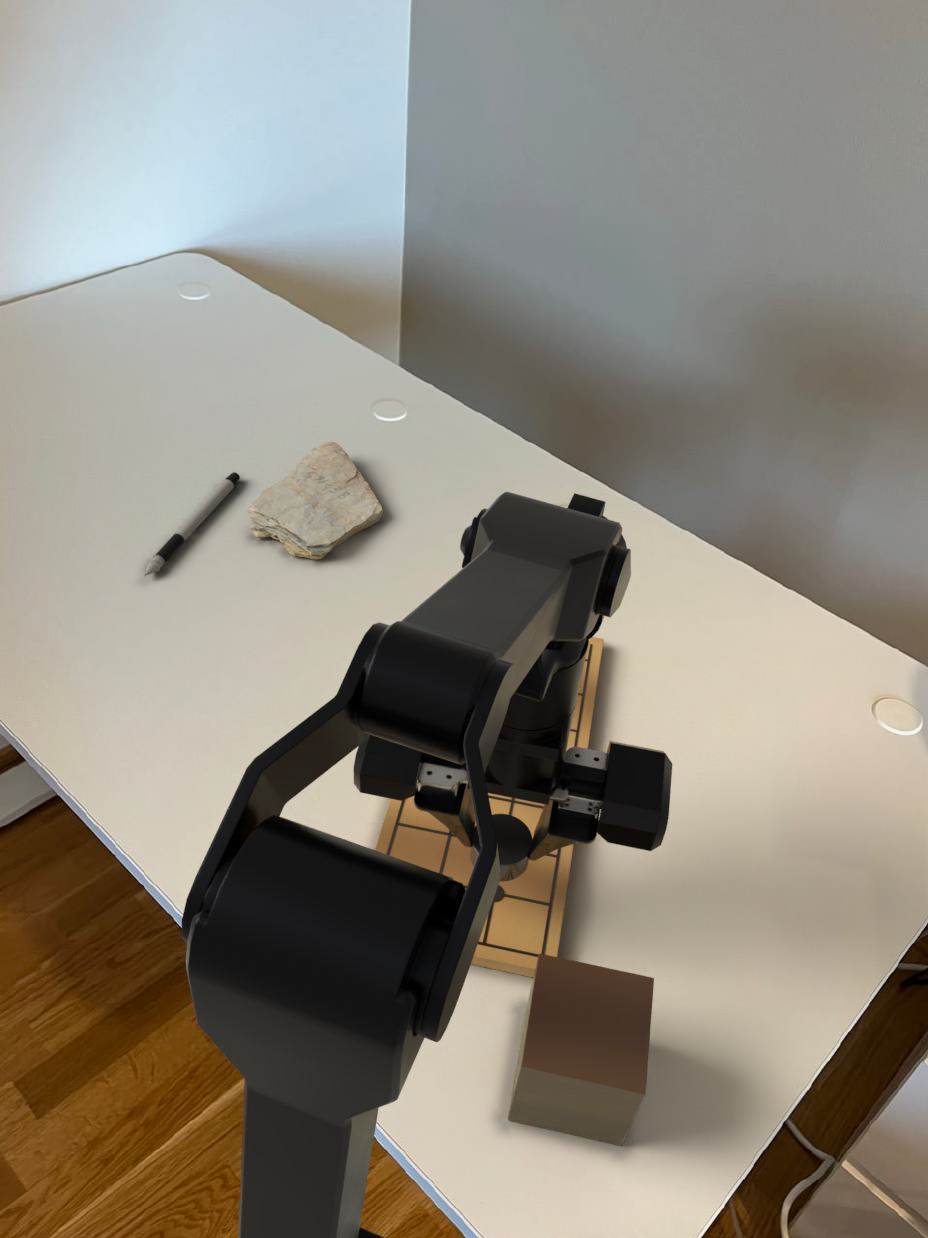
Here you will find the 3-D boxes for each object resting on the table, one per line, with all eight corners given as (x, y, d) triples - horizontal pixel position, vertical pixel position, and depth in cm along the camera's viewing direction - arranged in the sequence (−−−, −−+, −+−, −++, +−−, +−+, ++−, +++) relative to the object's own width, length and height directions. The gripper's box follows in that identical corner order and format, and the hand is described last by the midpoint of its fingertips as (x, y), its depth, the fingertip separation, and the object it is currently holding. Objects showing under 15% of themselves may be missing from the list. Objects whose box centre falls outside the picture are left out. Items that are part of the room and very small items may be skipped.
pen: (242, 482, 108) (241, 472, 107) (151, 583, 96) (149, 573, 95) (230, 479, 108) (229, 468, 107) (139, 579, 97) (136, 568, 96)
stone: (327, 456, 112) (327, 435, 110) (411, 493, 108) (412, 472, 106) (233, 529, 102) (231, 508, 101) (322, 572, 99) (321, 551, 97)
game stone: (524, 887, 70) (527, 870, 68) (464, 875, 70) (466, 858, 69) (533, 837, 73) (536, 820, 71) (475, 825, 73) (478, 808, 72)
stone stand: (621, 1147, 64) (645, 1094, 59) (507, 1120, 65) (520, 1066, 59) (631, 1035, 69) (654, 977, 64) (525, 1012, 70) (538, 952, 64)
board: (552, 982, 72) (555, 973, 71) (350, 938, 73) (350, 929, 72) (601, 648, 94) (604, 637, 93) (446, 619, 96) (447, 609, 95)
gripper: (698, 623, 65) (650, 779, 76) (397, 568, 66) (393, 729, 77) (690, 766, 57) (637, 918, 68) (349, 700, 58) (352, 858, 69)
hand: (501, 847), depth 71 cm, fingers closed on game stone, 4 cm apart
